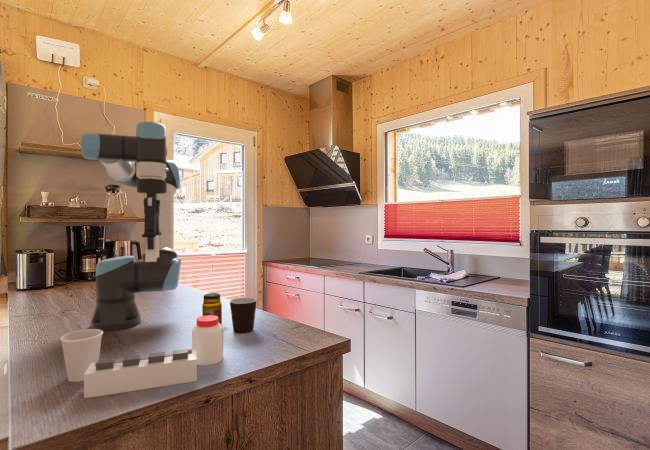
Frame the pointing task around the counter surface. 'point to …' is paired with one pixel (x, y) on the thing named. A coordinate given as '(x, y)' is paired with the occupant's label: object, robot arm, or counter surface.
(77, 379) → the dixie cup
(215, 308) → the condiment
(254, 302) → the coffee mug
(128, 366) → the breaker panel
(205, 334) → the pill bottle
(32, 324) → the counter surface
